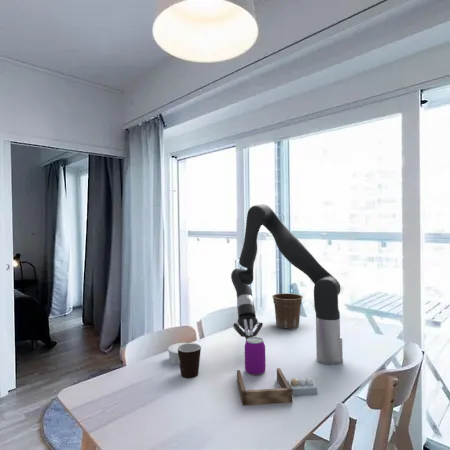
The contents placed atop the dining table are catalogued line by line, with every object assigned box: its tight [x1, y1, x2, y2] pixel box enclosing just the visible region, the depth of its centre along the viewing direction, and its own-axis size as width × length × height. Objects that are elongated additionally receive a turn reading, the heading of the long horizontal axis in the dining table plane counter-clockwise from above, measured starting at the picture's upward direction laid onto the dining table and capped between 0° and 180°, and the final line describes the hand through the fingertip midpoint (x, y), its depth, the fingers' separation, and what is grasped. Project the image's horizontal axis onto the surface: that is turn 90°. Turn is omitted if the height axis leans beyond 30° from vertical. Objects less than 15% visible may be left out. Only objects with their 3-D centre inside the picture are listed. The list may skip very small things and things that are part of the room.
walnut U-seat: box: [236, 367, 293, 406], centre depth 107 cm, size 15×15×4 cm
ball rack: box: [286, 377, 318, 396], centre depth 107 cm, size 8×6×4 cm
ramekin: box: [167, 342, 188, 366], centre depth 133 cm, size 11×11×5 cm
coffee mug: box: [178, 342, 202, 380], centre depth 121 cm, size 12×9×10 cm
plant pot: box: [271, 292, 303, 330], centre depth 176 cm, size 16×16×16 cm
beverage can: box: [244, 336, 267, 377], centre depth 121 cm, size 8×8×12 cm
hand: (250, 345), depth 131 cm, fingers closed
